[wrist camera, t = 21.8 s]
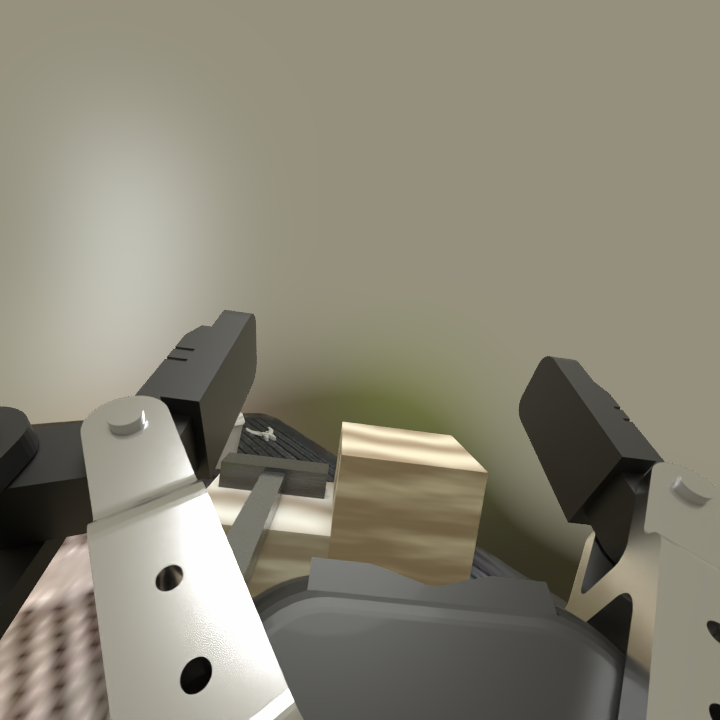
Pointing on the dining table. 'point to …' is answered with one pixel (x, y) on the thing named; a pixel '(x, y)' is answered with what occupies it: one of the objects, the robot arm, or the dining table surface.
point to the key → (264, 498)
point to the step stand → (376, 510)
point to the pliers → (264, 434)
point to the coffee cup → (232, 439)
